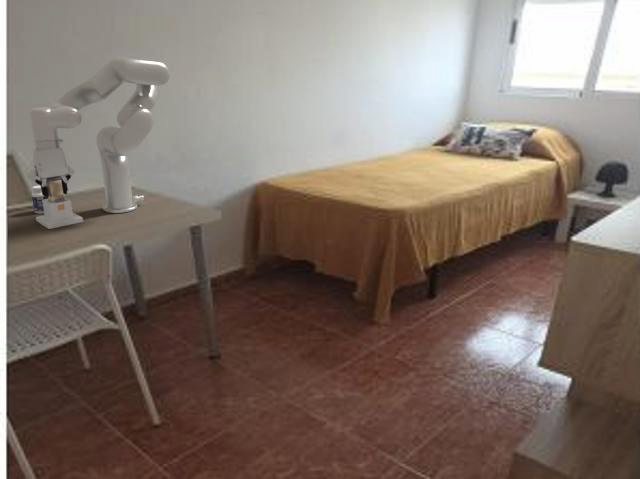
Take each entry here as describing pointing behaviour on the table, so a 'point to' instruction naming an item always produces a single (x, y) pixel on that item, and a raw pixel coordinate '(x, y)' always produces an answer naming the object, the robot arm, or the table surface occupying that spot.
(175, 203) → the table surface
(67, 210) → the white stand
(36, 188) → the pill bottle
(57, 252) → the table surface
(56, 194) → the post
